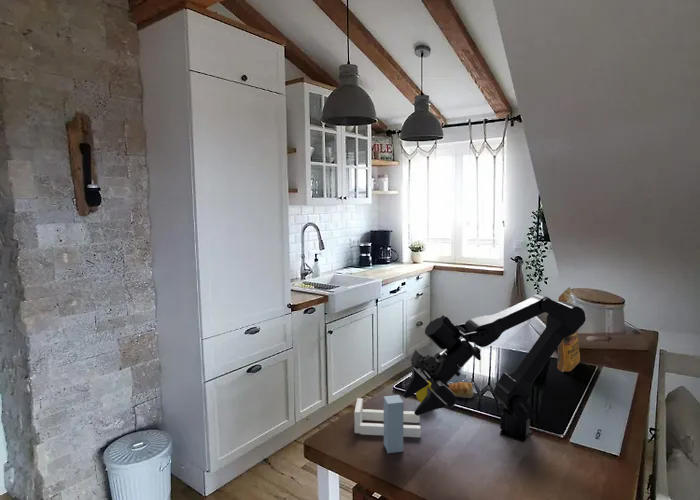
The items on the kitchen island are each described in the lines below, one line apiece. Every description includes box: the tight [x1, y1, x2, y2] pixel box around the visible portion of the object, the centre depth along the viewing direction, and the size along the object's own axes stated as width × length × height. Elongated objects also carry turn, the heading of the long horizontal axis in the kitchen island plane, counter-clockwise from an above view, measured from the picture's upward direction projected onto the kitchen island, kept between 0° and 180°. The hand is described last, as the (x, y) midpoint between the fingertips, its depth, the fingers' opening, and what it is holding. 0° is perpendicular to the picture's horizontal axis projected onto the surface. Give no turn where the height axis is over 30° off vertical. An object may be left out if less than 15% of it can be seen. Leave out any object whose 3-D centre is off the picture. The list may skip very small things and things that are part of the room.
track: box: [353, 397, 422, 438], centre depth 123 cm, size 18×9×6 cm, turn 83°
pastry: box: [447, 381, 474, 399], centre depth 143 cm, size 9×7×4 cm
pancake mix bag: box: [556, 286, 581, 373], centre depth 163 cm, size 7×19×28 cm, turn 137°
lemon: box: [415, 380, 433, 403], centre depth 135 cm, size 6×6×8 cm
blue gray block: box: [383, 394, 405, 454], centre depth 112 cm, size 4×4×13 cm
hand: (409, 405), depth 113 cm, fingers open, 9 cm apart
